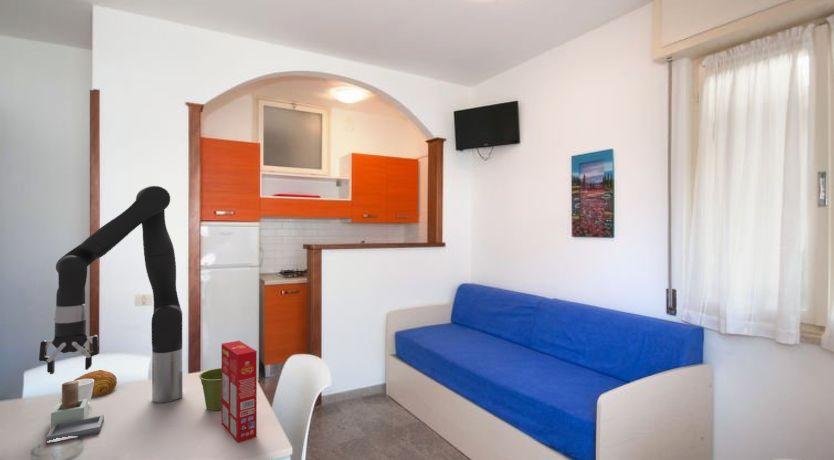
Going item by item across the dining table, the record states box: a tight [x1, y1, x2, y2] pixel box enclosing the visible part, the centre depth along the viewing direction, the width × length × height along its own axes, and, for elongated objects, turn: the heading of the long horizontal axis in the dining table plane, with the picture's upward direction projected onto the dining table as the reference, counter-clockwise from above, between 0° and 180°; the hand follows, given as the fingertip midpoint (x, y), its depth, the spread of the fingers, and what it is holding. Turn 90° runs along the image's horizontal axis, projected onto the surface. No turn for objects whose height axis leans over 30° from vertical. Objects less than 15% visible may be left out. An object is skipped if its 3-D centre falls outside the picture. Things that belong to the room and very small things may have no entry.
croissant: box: [73, 369, 118, 398], centre depth 155 cm, size 14×16×8 cm
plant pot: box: [198, 367, 222, 411], centre depth 142 cm, size 12×12×11 cm
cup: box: [77, 379, 94, 406], centre depth 142 cm, size 7×10×8 cm
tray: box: [45, 414, 105, 442], centre depth 124 cm, size 12×9×2 cm
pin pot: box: [50, 399, 89, 429], centre depth 130 cm, size 8×8×5 cm
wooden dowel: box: [61, 380, 79, 410], centre depth 130 cm, size 4×4×12 cm
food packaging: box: [221, 340, 258, 444], centre depth 125 cm, size 15×5×25 cm, turn 42°
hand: (69, 371), depth 130 cm, fingers open, 8 cm apart
